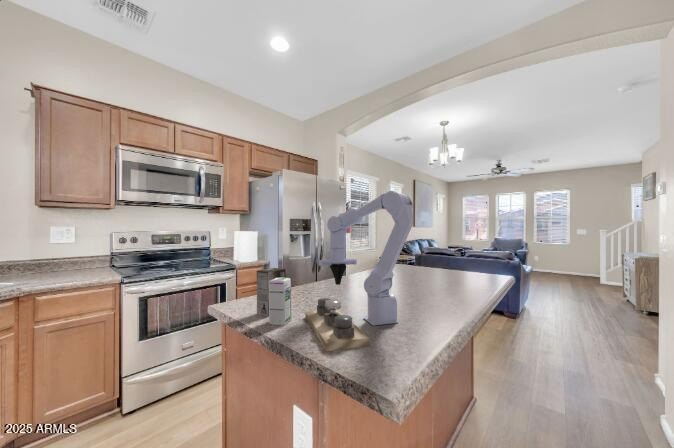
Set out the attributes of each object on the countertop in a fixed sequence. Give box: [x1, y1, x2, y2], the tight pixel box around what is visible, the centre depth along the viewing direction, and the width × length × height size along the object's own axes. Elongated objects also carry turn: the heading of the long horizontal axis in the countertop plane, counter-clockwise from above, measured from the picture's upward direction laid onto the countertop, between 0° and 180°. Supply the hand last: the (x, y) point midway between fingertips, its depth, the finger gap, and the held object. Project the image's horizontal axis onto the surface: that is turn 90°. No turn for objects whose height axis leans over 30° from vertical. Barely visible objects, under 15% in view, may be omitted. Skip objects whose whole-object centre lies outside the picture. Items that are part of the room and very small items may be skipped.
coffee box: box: [256, 267, 287, 318], centre depth 103 cm, size 9×6×16 cm
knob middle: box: [325, 298, 342, 317], centre depth 85 cm, size 5×5×4 cm
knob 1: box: [317, 297, 330, 308], centre depth 94 cm, size 5×5×4 cm
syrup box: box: [268, 277, 292, 326], centre depth 92 cm, size 6×6×14 cm
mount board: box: [304, 304, 371, 352], centre depth 85 cm, size 12×28×4 cm, turn 18°
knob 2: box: [335, 314, 353, 328], centre depth 75 cm, size 5×5×4 cm
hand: (337, 284), depth 103 cm, fingers closed
